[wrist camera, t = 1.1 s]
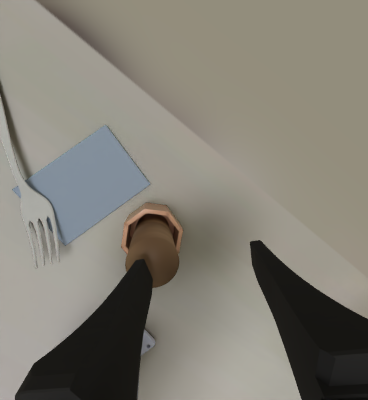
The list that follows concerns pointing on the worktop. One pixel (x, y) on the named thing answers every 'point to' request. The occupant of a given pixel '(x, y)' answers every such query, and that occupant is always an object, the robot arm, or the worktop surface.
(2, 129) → the fork
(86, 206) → the mat
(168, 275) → the peg
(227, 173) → the worktop surface
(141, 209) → the cup
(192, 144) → the worktop surface
